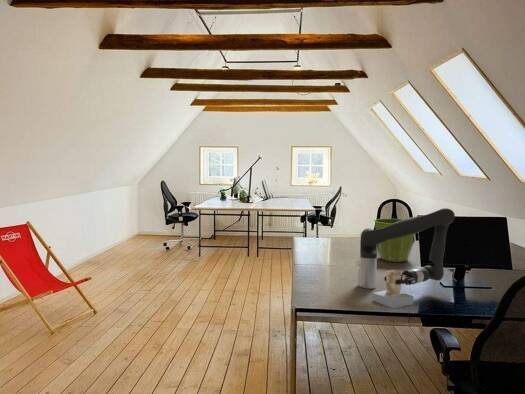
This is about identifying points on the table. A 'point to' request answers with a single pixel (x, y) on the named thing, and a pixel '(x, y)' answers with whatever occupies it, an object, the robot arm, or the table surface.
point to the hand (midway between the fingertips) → (390, 280)
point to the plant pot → (394, 243)
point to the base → (393, 299)
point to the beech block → (393, 283)
